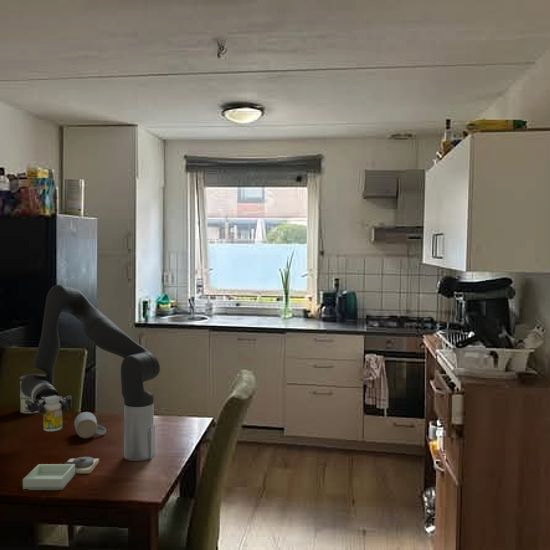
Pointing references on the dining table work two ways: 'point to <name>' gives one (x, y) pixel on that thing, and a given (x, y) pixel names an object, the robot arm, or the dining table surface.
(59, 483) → the tray
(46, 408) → the supplement bottle
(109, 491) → the dining table surface
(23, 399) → the coffee can
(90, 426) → the ceramic mug
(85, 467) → the beige board with disc
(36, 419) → the dining table surface
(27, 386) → the robot arm
